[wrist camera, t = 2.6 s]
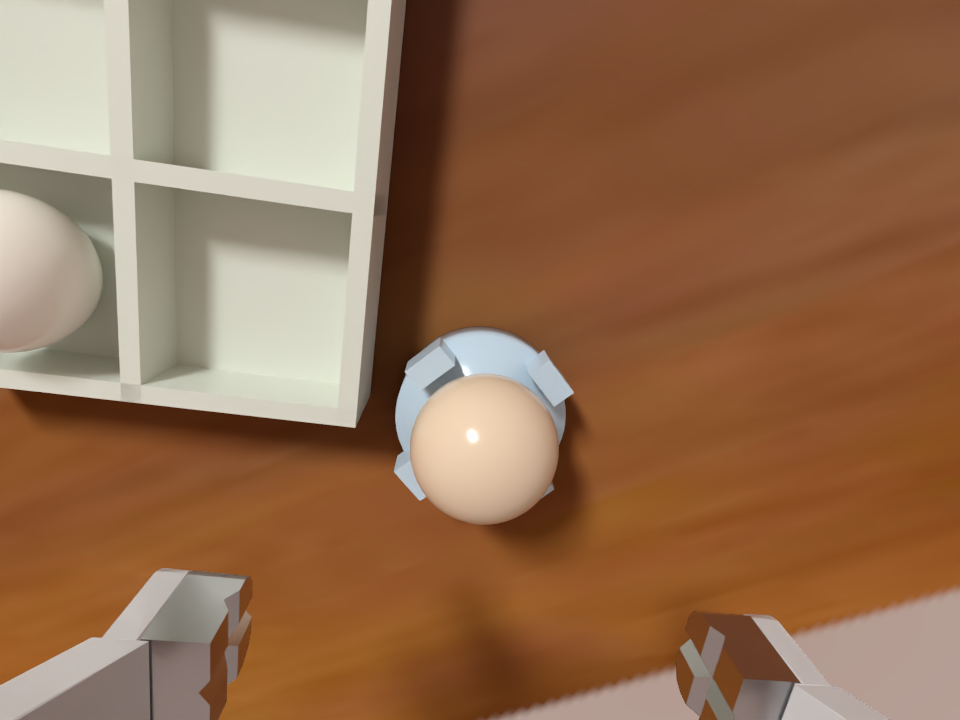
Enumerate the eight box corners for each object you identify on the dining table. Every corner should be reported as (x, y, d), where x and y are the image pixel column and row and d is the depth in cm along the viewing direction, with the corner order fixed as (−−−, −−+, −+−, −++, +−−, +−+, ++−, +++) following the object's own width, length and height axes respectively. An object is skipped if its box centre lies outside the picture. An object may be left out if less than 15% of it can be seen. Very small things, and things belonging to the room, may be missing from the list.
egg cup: (571, 337, 20) (588, 357, 17) (543, 482, 21) (555, 521, 19) (408, 316, 19) (400, 333, 17) (392, 466, 21) (382, 503, 18)
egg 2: (556, 364, 18) (588, 415, 14) (534, 484, 20) (556, 564, 15) (423, 348, 18) (412, 394, 14) (408, 470, 19) (394, 549, 15)
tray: (434, -308, 14) (428, -436, 12) (370, 395, 20) (355, 427, 17) (-113, -429, 13) (-269, -603, 11) (-22, 349, 19) (-108, 375, 16)
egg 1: (132, 201, 17) (19, 200, 13) (137, 340, 18) (35, 383, 14) (-21, 180, 17) (-194, 170, 12) (-6, 323, 18) (-158, 361, 13)
